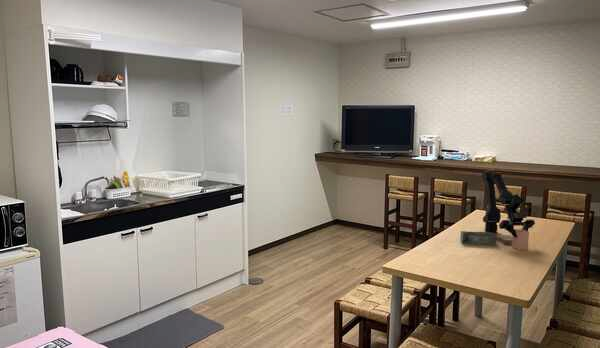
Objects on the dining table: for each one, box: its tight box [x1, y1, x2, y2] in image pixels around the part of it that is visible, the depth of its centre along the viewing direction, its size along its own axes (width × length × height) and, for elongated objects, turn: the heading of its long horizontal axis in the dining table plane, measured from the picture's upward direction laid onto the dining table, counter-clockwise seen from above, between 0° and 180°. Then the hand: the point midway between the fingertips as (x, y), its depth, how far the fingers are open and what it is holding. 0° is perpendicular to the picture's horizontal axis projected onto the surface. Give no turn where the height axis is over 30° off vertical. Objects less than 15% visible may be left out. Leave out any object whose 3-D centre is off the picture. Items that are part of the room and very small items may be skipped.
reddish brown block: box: [511, 228, 530, 251], centre depth 251 cm, size 6×6×10 cm
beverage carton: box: [459, 231, 498, 246], centre depth 261 cm, size 8×19×7 cm, turn 81°
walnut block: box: [496, 234, 512, 245], centre depth 263 cm, size 10×10×3 cm
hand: (521, 237), depth 249 cm, fingers closed on reddish brown block, 6 cm apart
